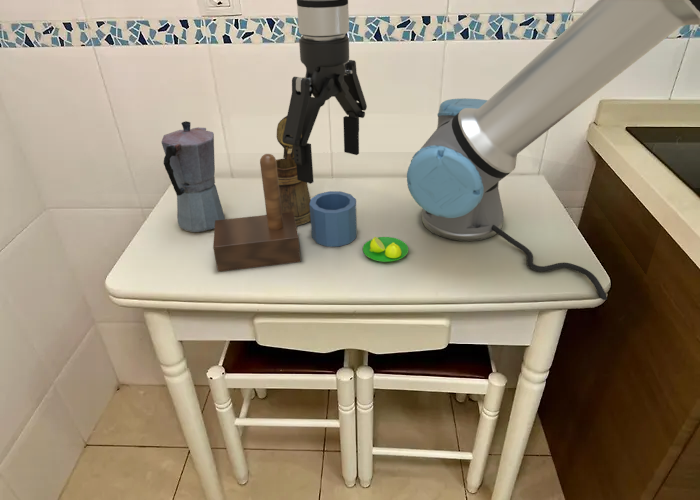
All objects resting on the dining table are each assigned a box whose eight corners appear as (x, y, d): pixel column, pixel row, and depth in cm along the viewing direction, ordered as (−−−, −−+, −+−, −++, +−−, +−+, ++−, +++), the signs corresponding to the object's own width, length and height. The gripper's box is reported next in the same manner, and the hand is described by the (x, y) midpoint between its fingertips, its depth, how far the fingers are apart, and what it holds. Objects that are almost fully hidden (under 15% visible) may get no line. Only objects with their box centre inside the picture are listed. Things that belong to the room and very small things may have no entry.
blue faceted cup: (364, 231, 97) (364, 197, 94) (340, 251, 92) (338, 217, 88) (329, 219, 101) (327, 187, 98) (303, 238, 96) (300, 205, 92)
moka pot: (238, 205, 107) (222, 110, 96) (212, 245, 94) (191, 141, 83) (193, 203, 108) (173, 109, 97) (162, 243, 96) (135, 140, 85)
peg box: (295, 235, 97) (286, 142, 87) (300, 261, 89) (291, 163, 79) (219, 243, 95) (201, 149, 85) (218, 271, 87) (198, 172, 77)
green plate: (363, 265, 88) (363, 251, 86) (361, 240, 95) (361, 227, 93) (410, 264, 88) (411, 250, 87) (405, 239, 95) (406, 225, 93)
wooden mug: (321, 195, 110) (316, 112, 100) (310, 227, 99) (303, 137, 89) (280, 194, 111) (271, 111, 101) (265, 226, 100) (253, 136, 90)
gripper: (349, 19, 88) (351, 139, 100) (247, 48, 71) (264, 188, 82) (387, 23, 84) (385, 146, 96) (290, 55, 67) (302, 200, 79)
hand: (329, 166), depth 89 cm, fingers open, 13 cm apart
